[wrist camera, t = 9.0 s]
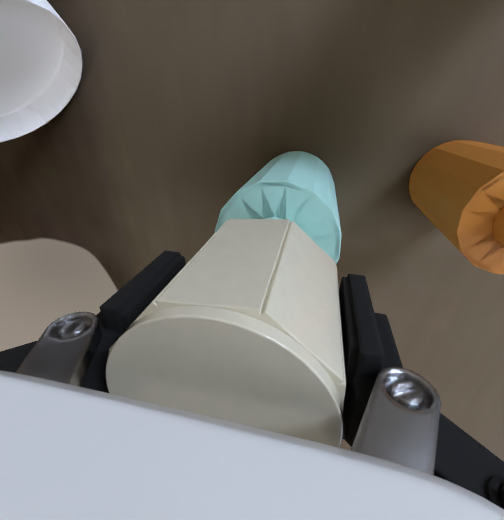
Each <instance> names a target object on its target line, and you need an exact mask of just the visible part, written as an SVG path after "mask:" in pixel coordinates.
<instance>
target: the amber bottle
mask: <svg viewBox="0 0 504 520" xmlns="http://www.w3.org/2000/svg"><path fill="white" fill-rule="evenodd" d="M409 193H410V197H411V199H412V201H413V203H414V204H415V205H416V206H417V207H418V208H419V209H420V211H421V212H422V213H423V214H424V215H425V216H426V217H427V218H428V219H429V220H430V221H431V222H432V223H433V224H434V225H435V226H436V227H437V228H438V229H439V230H440V231H441V232H442V233H443V234H444V235H445V236H446V237H447V238H448V239H449V240H450V241H451V242H452V243H453V245H454V246H455V247H456V248H457V249H458V250H459V251H460V252H461V253H462V254H463V255H464V256H465V257H466V258H467V259H468V260H469V261H470V262H471V263H472V264H473V265H474V266H476V267H479V268H481V269H484V270H486V271H489V272H491V273H494V274H504V147H502V146H497V145H492V144H487V143H482V142H476V141H471V140H456V141H450V142H446V143H443V144H441V145H439V146H437V147H435V148H433V149H431V150H430V151H429V152H427V153H426V154H425V155H424V156H423V157H422V158H421V159H420V160H419V161H418V163H417V164H416V165H415V167H414V169H413V171H412V173H411V176H410V180H409Z"/></svg>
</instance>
